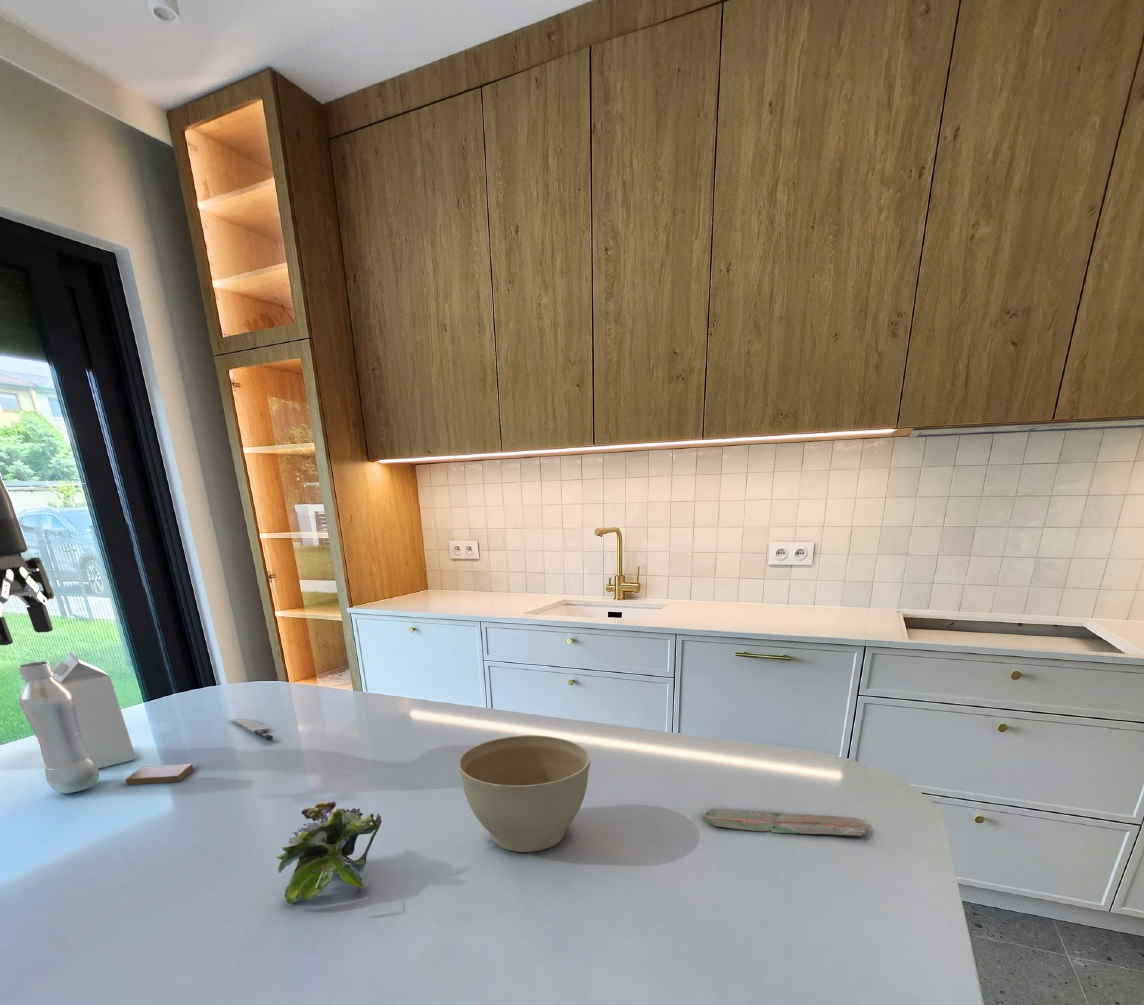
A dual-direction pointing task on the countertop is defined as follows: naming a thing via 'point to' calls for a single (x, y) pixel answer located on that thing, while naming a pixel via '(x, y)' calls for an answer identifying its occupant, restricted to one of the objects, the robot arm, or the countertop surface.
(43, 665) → the plastic bottle
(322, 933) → the countertop surface
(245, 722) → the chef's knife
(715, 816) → the map
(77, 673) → the milk carton
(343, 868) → the passion flower
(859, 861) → the countertop surface
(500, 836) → the planter bowl
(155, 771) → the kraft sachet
